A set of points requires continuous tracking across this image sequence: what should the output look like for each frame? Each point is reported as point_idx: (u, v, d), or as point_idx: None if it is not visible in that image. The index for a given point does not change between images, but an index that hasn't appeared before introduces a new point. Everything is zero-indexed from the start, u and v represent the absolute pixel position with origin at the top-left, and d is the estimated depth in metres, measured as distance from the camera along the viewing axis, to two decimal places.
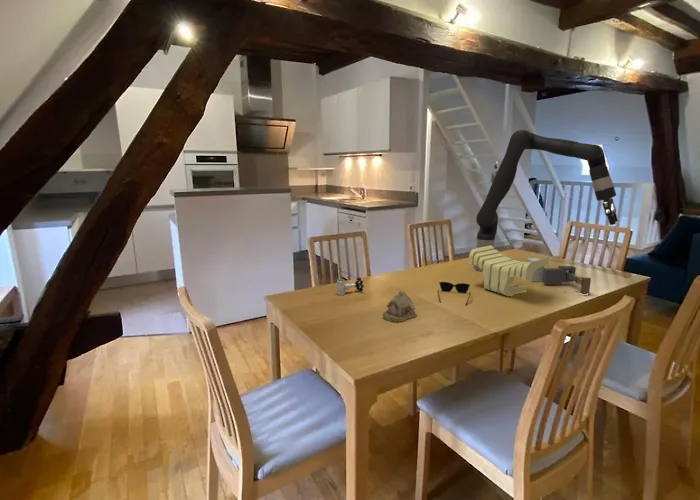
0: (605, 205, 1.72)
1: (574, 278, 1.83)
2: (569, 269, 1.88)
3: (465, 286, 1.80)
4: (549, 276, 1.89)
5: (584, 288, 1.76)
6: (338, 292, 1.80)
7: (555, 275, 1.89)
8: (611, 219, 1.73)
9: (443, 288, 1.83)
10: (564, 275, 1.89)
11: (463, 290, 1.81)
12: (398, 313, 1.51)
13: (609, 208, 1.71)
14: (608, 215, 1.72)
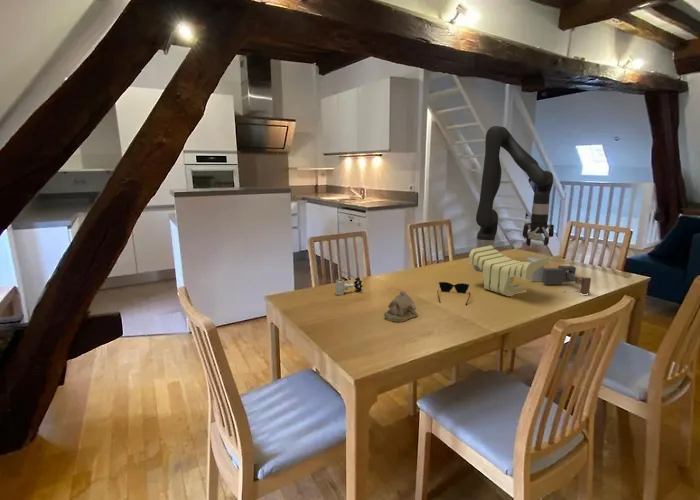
0: (524, 227, 1.94)
1: (574, 278, 1.83)
2: (569, 269, 1.88)
3: (464, 286, 1.80)
4: (549, 276, 1.89)
5: (584, 288, 1.76)
6: (337, 292, 1.80)
7: (555, 275, 1.89)
8: (527, 241, 1.95)
9: (442, 288, 1.83)
10: (564, 275, 1.89)
11: (463, 290, 1.81)
12: (399, 313, 1.51)
13: (525, 231, 1.93)
14: (524, 236, 1.95)
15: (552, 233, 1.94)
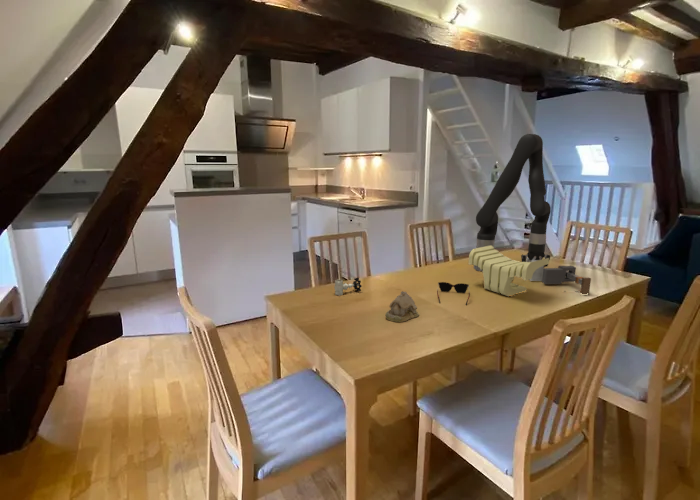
0: (522, 257, 1.98)
1: (574, 278, 1.83)
2: (569, 269, 1.88)
3: (464, 286, 1.80)
4: (549, 276, 1.89)
5: (584, 288, 1.76)
6: (336, 292, 1.79)
7: (555, 275, 1.89)
8: None
9: (442, 288, 1.83)
10: (564, 275, 1.89)
11: (462, 290, 1.81)
12: (401, 313, 1.51)
13: (523, 261, 1.97)
14: None
15: None
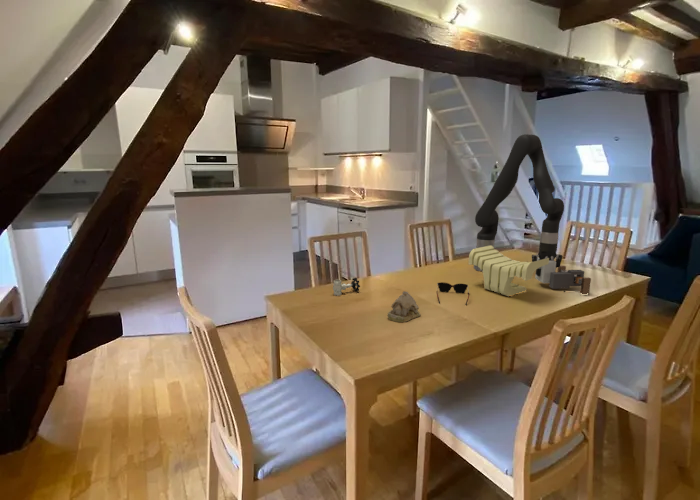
0: (532, 258, 1.87)
1: (574, 278, 1.83)
2: (577, 273, 1.82)
3: (463, 286, 1.80)
4: (557, 281, 1.82)
5: (584, 288, 1.76)
6: (335, 292, 1.79)
7: (563, 279, 1.82)
8: (537, 271, 1.88)
9: (441, 289, 1.83)
10: (572, 279, 1.83)
11: (461, 290, 1.81)
12: (403, 313, 1.51)
13: None
14: None
15: (559, 264, 1.87)
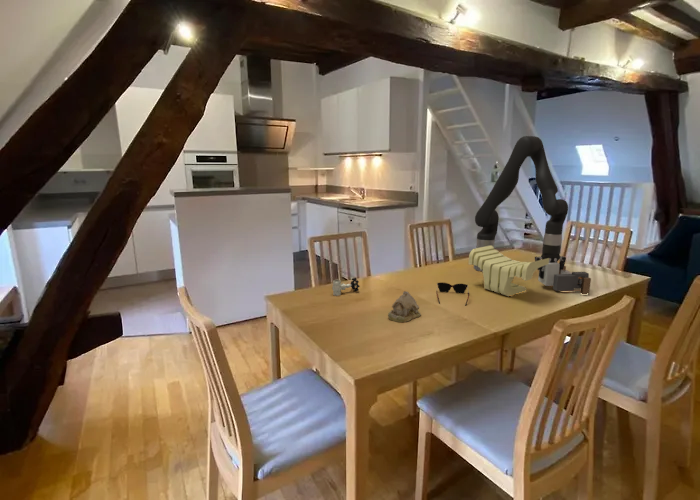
0: (535, 260, 1.84)
1: None
2: (582, 275, 1.79)
3: (463, 286, 1.80)
4: (561, 283, 1.79)
5: (584, 288, 1.76)
6: (334, 293, 1.79)
7: (567, 282, 1.79)
8: (540, 273, 1.85)
9: (441, 289, 1.83)
10: (576, 281, 1.79)
11: (461, 290, 1.81)
12: (404, 313, 1.51)
13: None
14: None
15: (562, 266, 1.84)
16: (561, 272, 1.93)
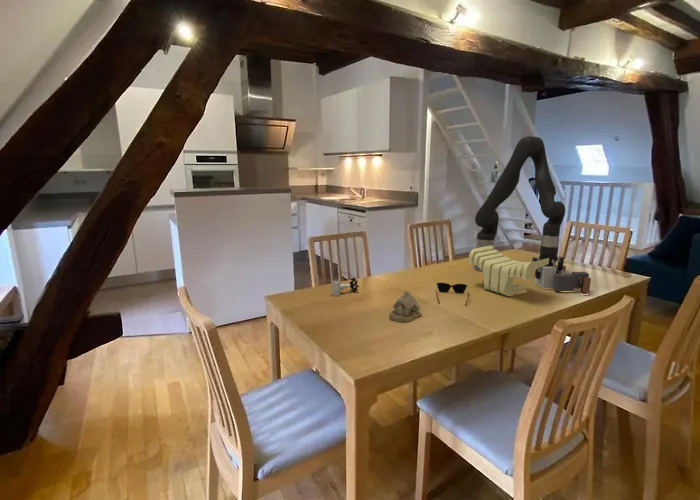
0: (533, 260, 1.86)
1: None
2: (582, 275, 1.79)
3: (462, 286, 1.80)
4: (561, 283, 1.79)
5: (584, 288, 1.76)
6: (333, 293, 1.79)
7: (567, 282, 1.79)
8: (536, 274, 1.87)
9: (440, 289, 1.82)
10: (576, 281, 1.79)
11: (460, 290, 1.81)
12: (405, 313, 1.51)
13: None
14: None
15: (561, 266, 1.86)
16: (561, 272, 1.93)
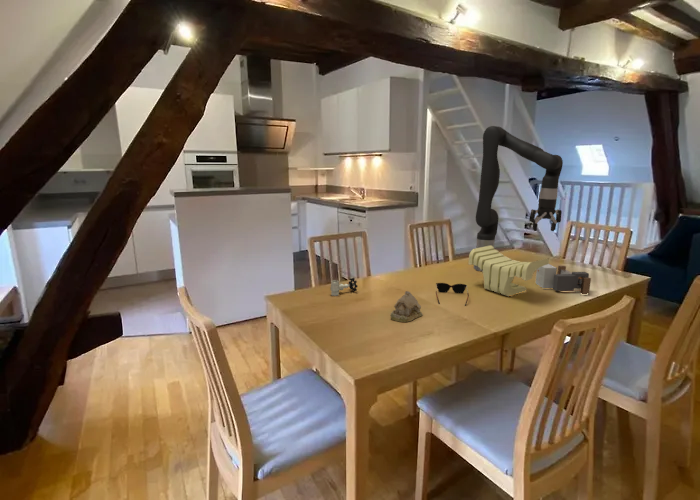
0: (531, 212, 1.92)
1: None
2: (582, 275, 1.79)
3: (462, 287, 1.80)
4: (561, 283, 1.79)
5: (584, 288, 1.76)
6: (332, 293, 1.79)
7: (567, 282, 1.79)
8: (533, 226, 1.93)
9: (440, 289, 1.82)
10: (576, 281, 1.79)
11: (460, 290, 1.80)
12: (406, 313, 1.51)
13: (532, 216, 1.91)
14: (530, 221, 1.93)
15: (559, 219, 1.91)
16: (561, 272, 1.93)
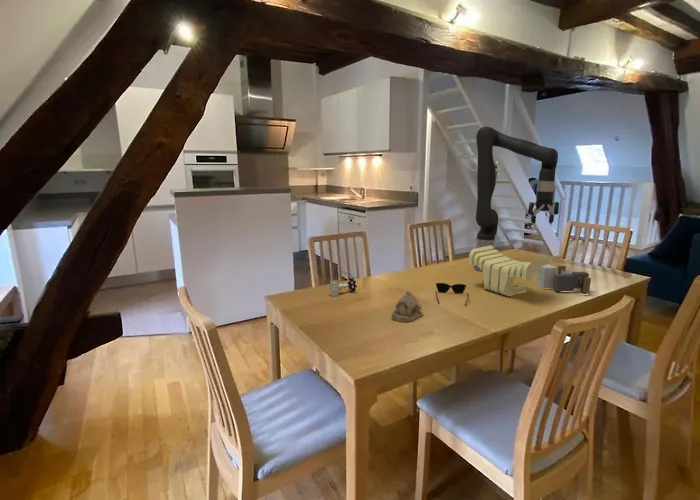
0: (529, 205, 1.96)
1: None
2: (582, 275, 1.79)
3: (461, 287, 1.80)
4: (561, 283, 1.79)
5: (584, 288, 1.76)
6: (332, 293, 1.79)
7: (567, 282, 1.79)
8: (532, 218, 1.97)
9: (439, 289, 1.82)
10: (576, 281, 1.79)
11: (460, 290, 1.80)
12: (407, 313, 1.52)
13: (530, 208, 1.95)
14: None
15: (557, 211, 1.95)
16: (561, 272, 1.93)
